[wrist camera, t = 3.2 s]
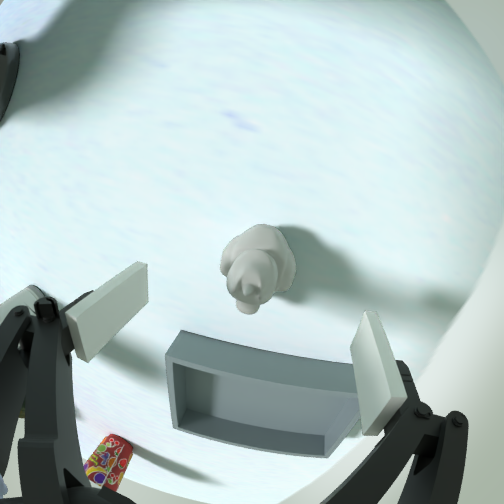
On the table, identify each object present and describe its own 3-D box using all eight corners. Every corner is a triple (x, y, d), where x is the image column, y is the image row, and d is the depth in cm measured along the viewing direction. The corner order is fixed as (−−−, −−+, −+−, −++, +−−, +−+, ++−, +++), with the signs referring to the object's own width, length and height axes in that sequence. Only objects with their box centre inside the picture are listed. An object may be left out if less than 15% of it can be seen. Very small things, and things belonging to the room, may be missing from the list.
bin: (181, 330, 26) (164, 354, 22) (369, 366, 24) (375, 394, 20) (183, 405, 31) (173, 428, 27) (327, 434, 29) (327, 458, 25)
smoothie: (108, 425, 39) (63, 495, 21) (143, 448, 40) (105, 521, 21) (102, 434, 42) (63, 495, 24) (133, 455, 43) (99, 518, 24)
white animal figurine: (305, 228, 21) (308, 269, 13) (283, 301, 23) (273, 364, 16) (237, 210, 21) (202, 241, 14) (222, 283, 23) (188, 339, 16)
